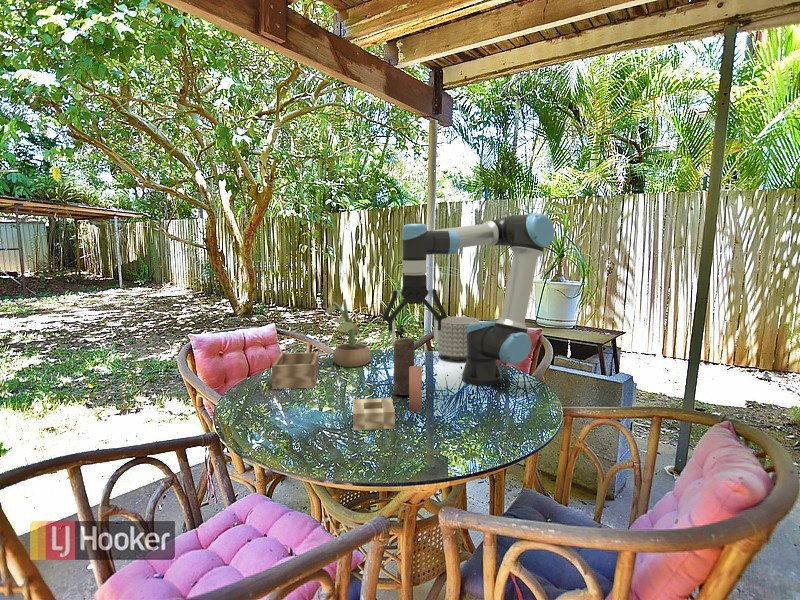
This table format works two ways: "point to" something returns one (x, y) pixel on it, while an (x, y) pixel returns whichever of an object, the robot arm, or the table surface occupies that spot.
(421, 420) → the table surface
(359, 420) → the socket block
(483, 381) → the robot arm
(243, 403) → the table surface
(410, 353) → the brown log
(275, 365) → the frame
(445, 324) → the planter
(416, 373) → the peg
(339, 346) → the potted plant
